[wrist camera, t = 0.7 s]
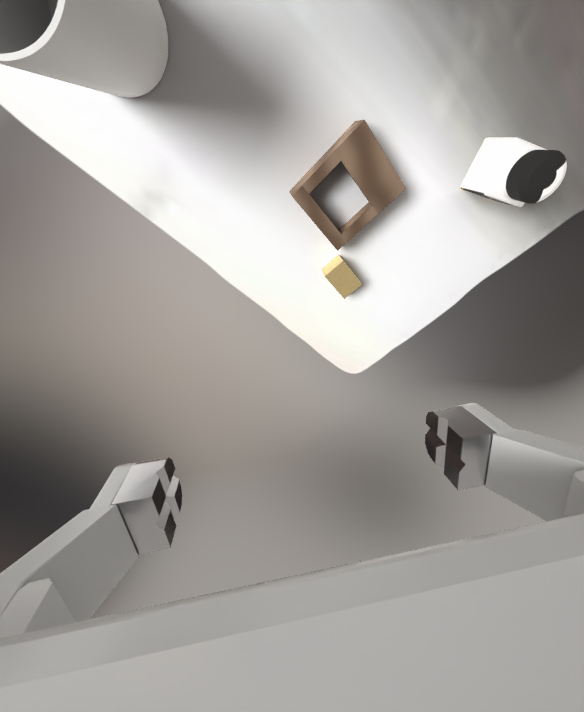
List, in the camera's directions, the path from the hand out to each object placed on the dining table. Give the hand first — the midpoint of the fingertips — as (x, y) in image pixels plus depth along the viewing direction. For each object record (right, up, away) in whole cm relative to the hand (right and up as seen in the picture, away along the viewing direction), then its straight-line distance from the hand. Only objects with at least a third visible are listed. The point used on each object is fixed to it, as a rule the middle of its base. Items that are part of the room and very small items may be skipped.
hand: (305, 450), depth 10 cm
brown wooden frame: (+8, +30, +39) cm, 50 cm away
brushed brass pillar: (+9, +19, +47) cm, 52 cm away
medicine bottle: (+31, +33, +39) cm, 60 cm away
